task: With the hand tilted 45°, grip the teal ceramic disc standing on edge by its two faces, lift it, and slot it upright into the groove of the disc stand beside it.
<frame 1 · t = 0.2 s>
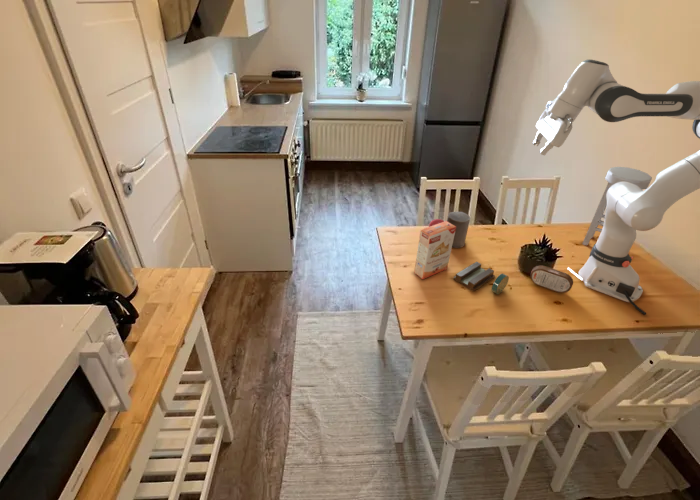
hand: (538, 149, 134), 51 cm above the table, tool tilted 20°, fingers open, 8 cm apart
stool: (598, 244, 180), on the table
pillar candle: (453, 242, 178), on the table
stand: (473, 278, 155), on the table
tin: (547, 288, 151), on the table
disc: (497, 291, 149), on the table
cracker box: (430, 271, 159), on the table
lollipop: (433, 249, 173), on the table
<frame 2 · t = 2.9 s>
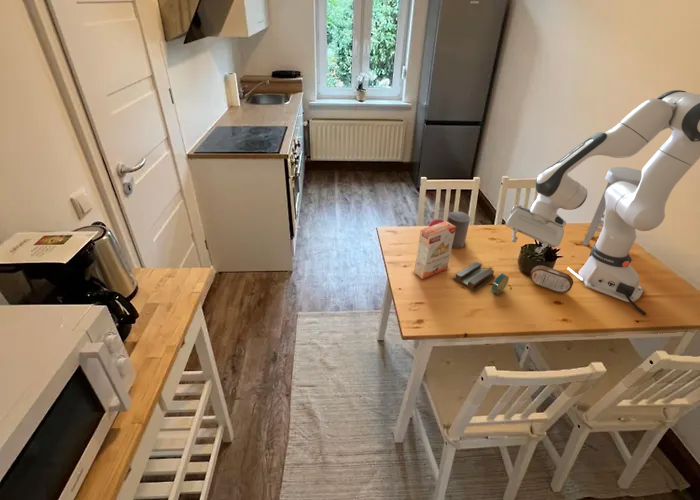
hand: (525, 247, 144), 17 cm above the table, tool tilted 45°, fingers open, 8 cm apart
nothing on the table moved.
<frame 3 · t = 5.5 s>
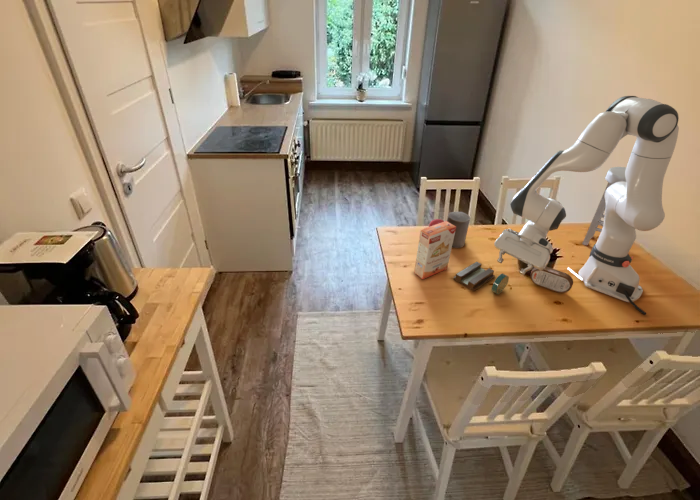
hand: (510, 267, 146), 9 cm above the table, tool tilted 45°, fingers open, 8 cm apart
nothing on the table moved.
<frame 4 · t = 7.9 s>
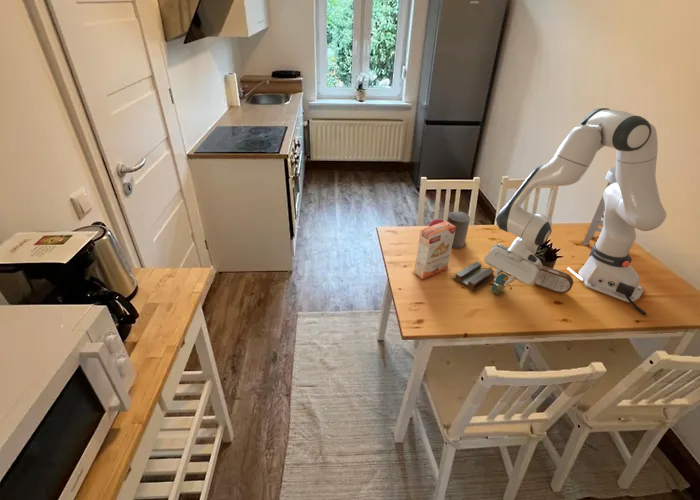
hand: (499, 283, 146), 4 cm above the table, tool tilted 45°, fingers closed on disc, 2 cm apart
disc: (497, 291, 149), on the table, touching gripper
everything else where it was.
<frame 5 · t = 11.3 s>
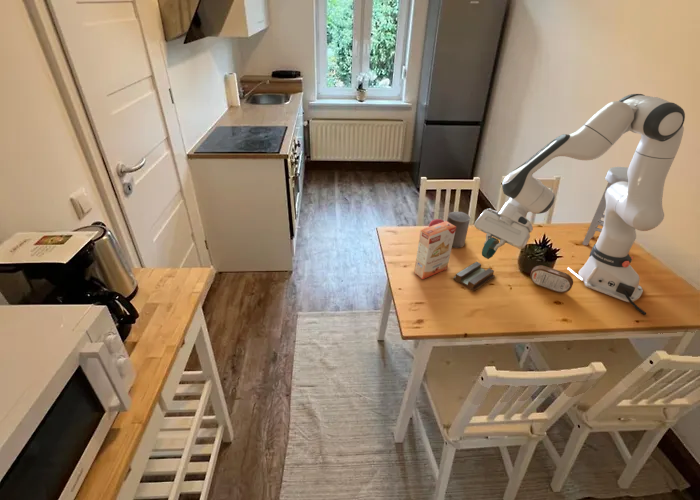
hand: (489, 247, 143), 17 cm above the table, tool tilted 45°, fingers closed on disc
disc: (488, 256, 146), point 13 cm above the table, touching gripper
everything else where it was.
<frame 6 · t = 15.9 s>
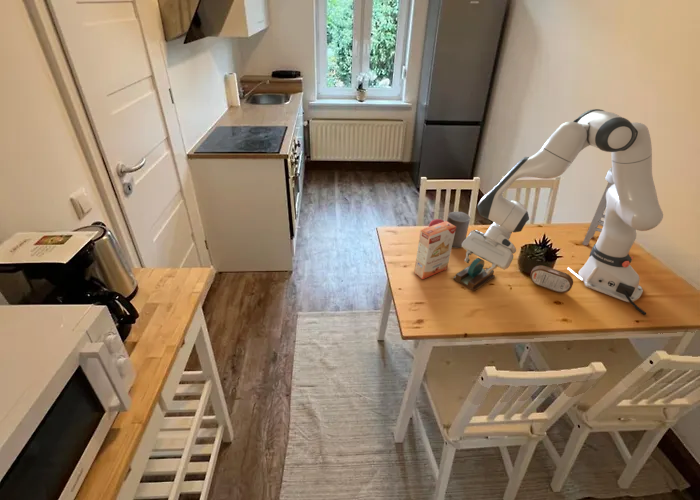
hand: (475, 267, 152), 6 cm above the table, tool tilted 45°, fingers open, 8 cm apart
disc: (474, 275, 155), point 1 cm above the table, touching stand
everything else where it was.
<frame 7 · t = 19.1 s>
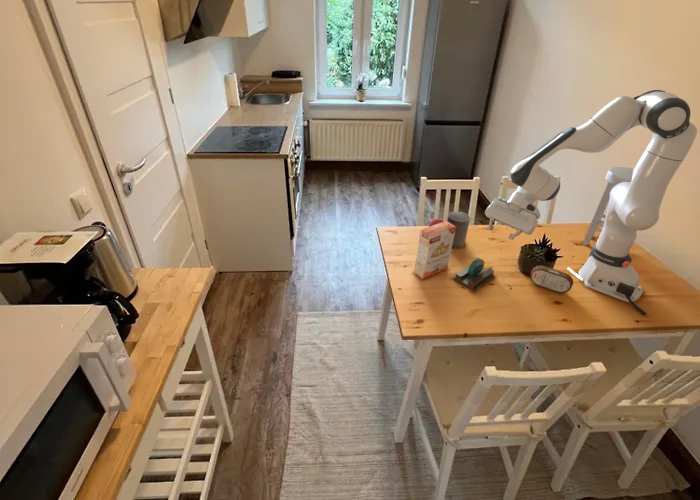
hand: (499, 234, 153), 17 cm above the table, tool tilted 45°, fingers open, 8 cm apart
nothing on the table moved.
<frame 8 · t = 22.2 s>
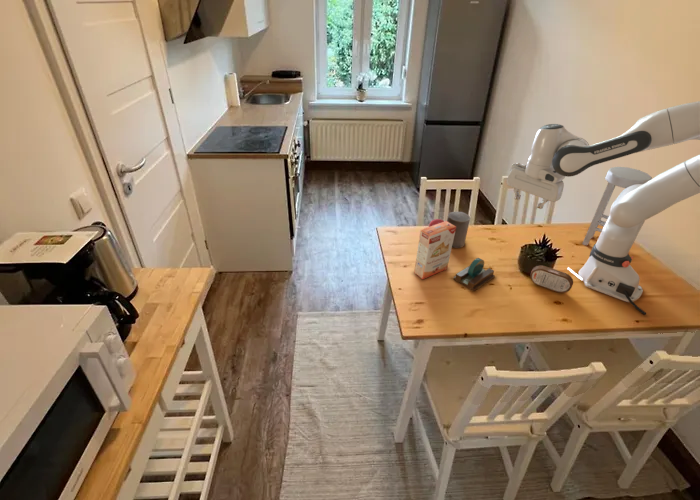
hand: (528, 203, 148), 29 cm above the table, tool pointing down, fingers open, 8 cm apart
nothing on the table moved.
at the end: disc inside the target area on the stand (0.1 cm from its centre), point 1.2 cm above the stand's base; disc tilted 0°; the gripper is holding nothing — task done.
